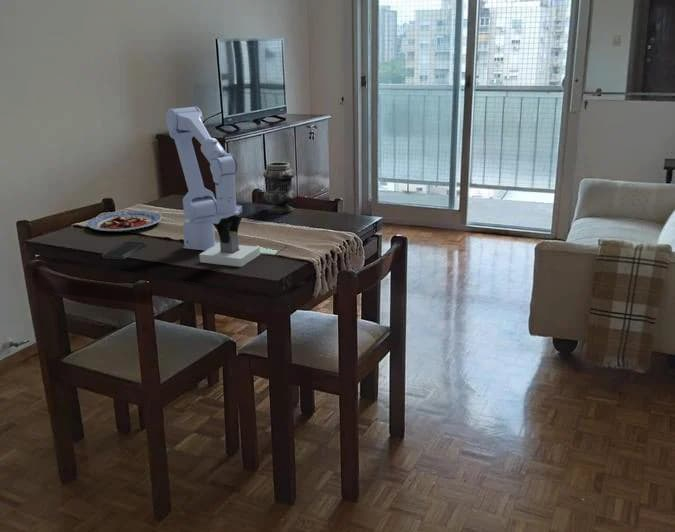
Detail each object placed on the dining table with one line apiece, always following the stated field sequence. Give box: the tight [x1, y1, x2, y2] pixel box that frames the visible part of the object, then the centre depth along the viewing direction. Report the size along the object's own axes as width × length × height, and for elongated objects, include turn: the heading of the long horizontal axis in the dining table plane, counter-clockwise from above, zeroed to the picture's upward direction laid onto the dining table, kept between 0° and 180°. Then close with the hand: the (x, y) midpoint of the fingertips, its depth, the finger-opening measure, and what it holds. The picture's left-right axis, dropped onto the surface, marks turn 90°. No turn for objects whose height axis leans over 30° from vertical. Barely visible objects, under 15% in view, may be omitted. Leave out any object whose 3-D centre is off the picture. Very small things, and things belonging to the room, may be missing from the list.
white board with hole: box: [199, 243, 261, 268], centre depth 212 cm, size 14×12×2 cm
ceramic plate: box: [86, 210, 163, 233], centre depth 250 cm, size 26×26×3 cm
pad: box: [255, 245, 281, 256], centre depth 220 cm, size 9×9×1 cm
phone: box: [101, 241, 147, 260], centre depth 221 cm, size 8×1×15 cm
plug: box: [219, 231, 240, 254], centre depth 211 cm, size 4×4×7 cm
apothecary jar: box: [262, 161, 296, 214], centre depth 264 cm, size 12×12×18 cm
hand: (229, 240), depth 211 cm, fingers closed on plug, 4 cm apart
